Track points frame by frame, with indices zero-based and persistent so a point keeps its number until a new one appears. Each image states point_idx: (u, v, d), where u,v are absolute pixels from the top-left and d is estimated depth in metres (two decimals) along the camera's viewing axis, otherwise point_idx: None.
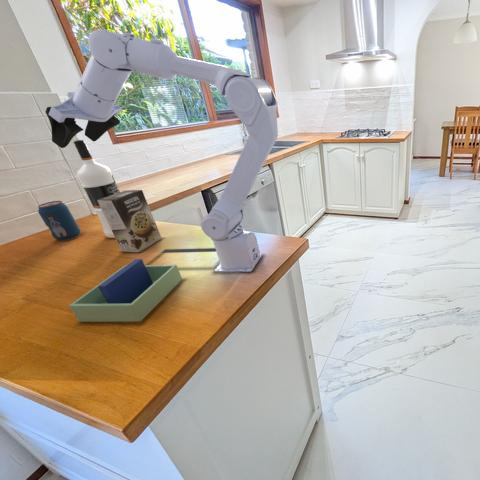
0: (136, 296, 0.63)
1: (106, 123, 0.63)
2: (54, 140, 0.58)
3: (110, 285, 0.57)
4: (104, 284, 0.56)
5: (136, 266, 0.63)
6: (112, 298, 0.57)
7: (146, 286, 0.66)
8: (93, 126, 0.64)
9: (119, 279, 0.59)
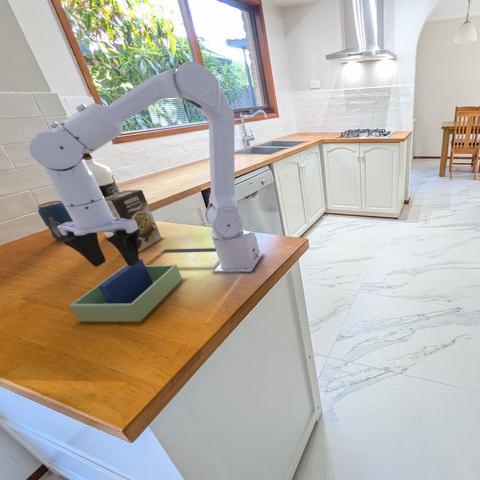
0: (136, 296, 0.63)
1: (93, 234, 0.58)
2: (132, 262, 0.58)
3: (110, 285, 0.57)
4: (104, 284, 0.56)
5: (136, 266, 0.63)
6: (112, 298, 0.57)
7: (146, 286, 0.66)
8: (92, 251, 0.58)
9: (119, 279, 0.59)
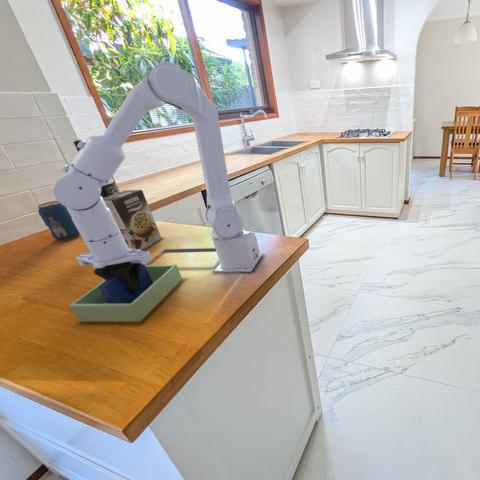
0: (136, 296, 0.63)
1: None
2: (134, 290, 0.61)
3: (110, 285, 0.57)
4: (104, 284, 0.56)
5: None
6: (112, 298, 0.57)
7: (146, 286, 0.66)
8: None
9: (119, 279, 0.59)
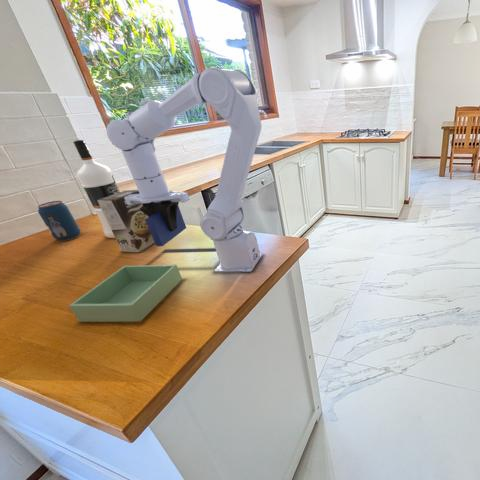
0: (173, 234, 0.72)
1: None
2: (172, 228, 0.71)
3: (154, 219, 0.66)
4: (150, 218, 0.66)
5: None
6: (156, 231, 0.67)
7: (181, 228, 0.75)
8: None
9: (161, 216, 0.68)
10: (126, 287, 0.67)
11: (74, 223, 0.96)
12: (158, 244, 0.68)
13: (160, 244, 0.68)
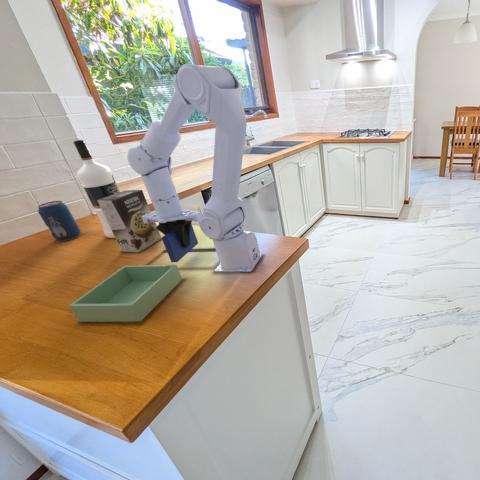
0: (187, 250, 0.77)
1: (175, 223, 0.75)
2: (186, 245, 0.76)
3: (170, 237, 0.71)
4: (166, 236, 0.70)
5: None
6: (171, 248, 0.71)
7: (193, 243, 0.80)
8: None
9: (176, 234, 0.73)
10: (126, 287, 0.67)
11: (74, 223, 0.96)
12: (173, 260, 0.73)
13: (175, 260, 0.73)
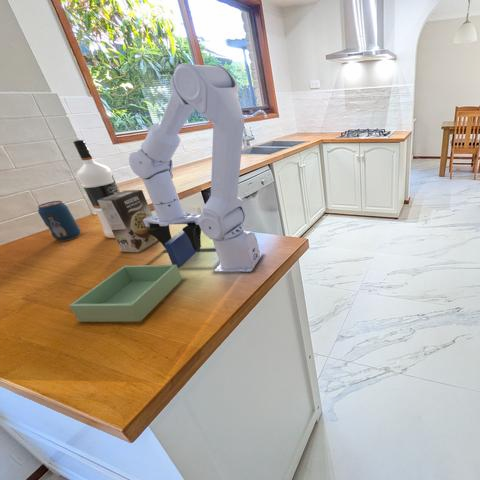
0: (189, 256, 0.78)
1: (166, 226, 0.76)
2: (197, 247, 0.76)
3: (172, 243, 0.71)
4: (169, 243, 0.71)
5: None
6: (174, 254, 0.72)
7: None
8: (166, 239, 0.75)
9: (178, 240, 0.74)
10: (126, 287, 0.67)
11: (74, 223, 0.96)
12: None
13: (177, 266, 0.74)
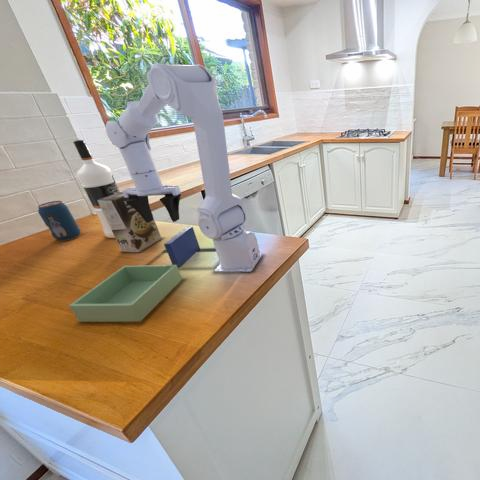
0: (189, 256, 0.78)
1: (146, 198, 0.78)
2: (175, 219, 0.78)
3: (172, 243, 0.71)
4: (169, 243, 0.71)
5: (188, 232, 0.78)
6: (174, 254, 0.72)
7: (195, 249, 0.80)
8: (145, 210, 0.78)
9: (178, 240, 0.74)
10: (126, 287, 0.67)
11: (74, 223, 0.96)
12: None
13: (177, 266, 0.74)
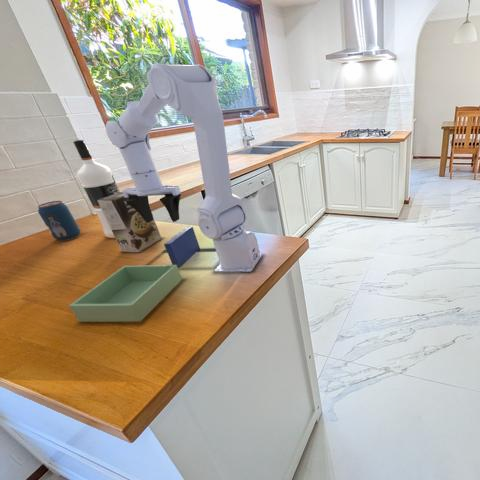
0: (189, 256, 0.78)
1: (146, 198, 0.78)
2: (175, 219, 0.78)
3: (172, 243, 0.71)
4: (169, 243, 0.71)
5: (188, 232, 0.78)
6: (174, 254, 0.72)
7: (195, 249, 0.80)
8: (145, 210, 0.78)
9: (178, 240, 0.74)
10: (126, 287, 0.67)
11: (74, 223, 0.96)
12: None
13: (177, 266, 0.74)
